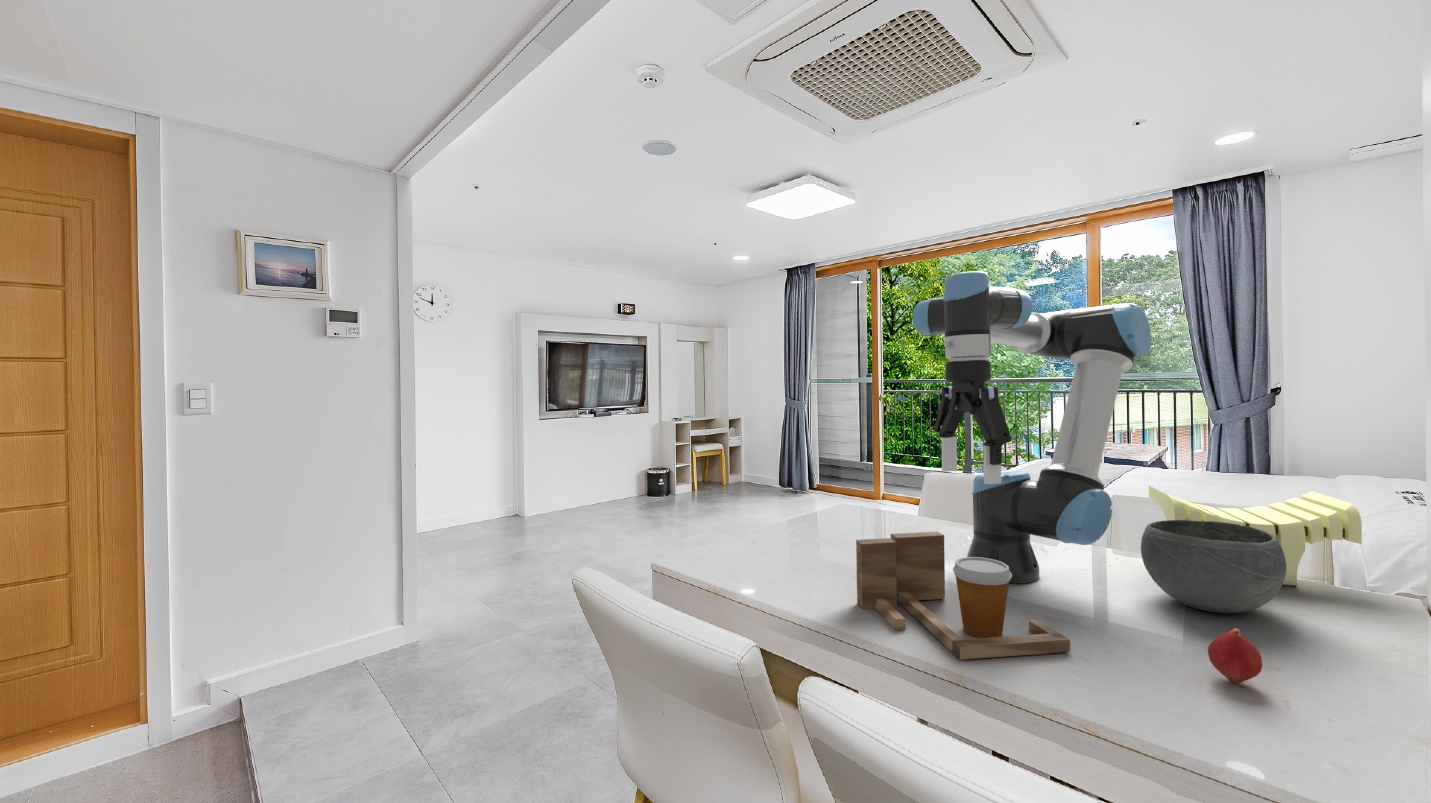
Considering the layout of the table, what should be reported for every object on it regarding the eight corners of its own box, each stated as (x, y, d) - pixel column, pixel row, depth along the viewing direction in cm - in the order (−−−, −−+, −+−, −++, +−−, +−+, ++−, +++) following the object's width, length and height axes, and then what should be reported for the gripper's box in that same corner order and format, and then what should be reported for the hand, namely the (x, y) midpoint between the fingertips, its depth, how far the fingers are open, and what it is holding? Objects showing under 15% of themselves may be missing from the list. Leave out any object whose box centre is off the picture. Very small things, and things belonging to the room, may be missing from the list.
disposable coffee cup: (1020, 645, 95) (1019, 574, 95) (959, 641, 97) (959, 572, 97) (1003, 621, 104) (1002, 557, 104) (948, 618, 106) (947, 555, 106)
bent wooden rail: (891, 595, 117) (890, 533, 117) (977, 590, 119) (977, 529, 118) (959, 659, 90) (958, 578, 90) (1070, 651, 92) (1069, 572, 91)
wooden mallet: (857, 603, 115) (856, 539, 114) (890, 601, 115) (889, 538, 115) (881, 631, 102) (880, 559, 101) (919, 628, 102) (918, 557, 102)
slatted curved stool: (1174, 580, 123) (1174, 498, 122) (1149, 558, 138) (1149, 485, 137) (1360, 595, 112) (1361, 506, 111) (1311, 570, 127) (1312, 491, 126)
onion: (1197, 673, 85) (1197, 620, 84) (1232, 670, 85) (1232, 618, 85) (1236, 694, 79) (1236, 638, 79) (1273, 691, 79) (1274, 635, 79)
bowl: (1283, 602, 109) (1283, 526, 109) (1289, 641, 94) (1290, 551, 94) (1147, 579, 124) (1147, 511, 123) (1133, 609, 108) (1133, 531, 108)
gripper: (914, 362, 114) (917, 467, 115) (990, 357, 89) (992, 490, 90) (949, 361, 115) (951, 465, 116) (1034, 355, 90) (1036, 488, 91)
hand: (969, 477), depth 103 cm, fingers open, 13 cm apart
